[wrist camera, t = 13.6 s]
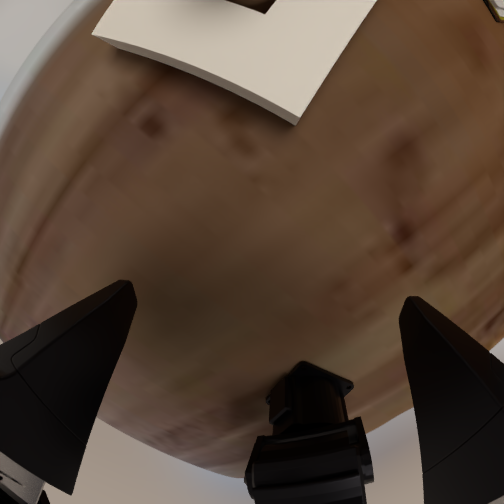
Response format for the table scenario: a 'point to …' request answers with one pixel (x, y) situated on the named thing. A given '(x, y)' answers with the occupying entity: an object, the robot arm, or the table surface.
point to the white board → (241, 43)
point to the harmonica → (496, 9)
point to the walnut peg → (255, 4)
